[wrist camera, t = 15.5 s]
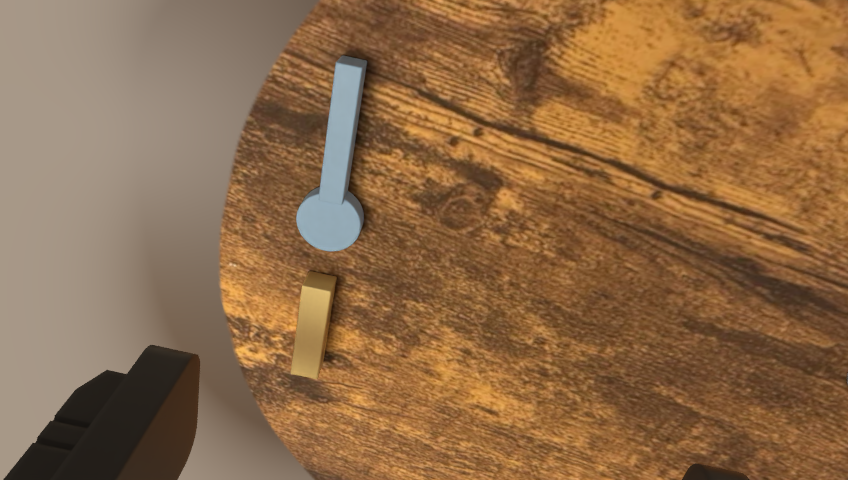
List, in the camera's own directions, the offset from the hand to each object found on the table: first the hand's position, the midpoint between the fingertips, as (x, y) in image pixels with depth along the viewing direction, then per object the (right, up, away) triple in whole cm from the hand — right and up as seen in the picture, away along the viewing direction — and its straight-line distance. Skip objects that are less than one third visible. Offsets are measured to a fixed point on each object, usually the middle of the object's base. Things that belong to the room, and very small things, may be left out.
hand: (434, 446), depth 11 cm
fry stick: (-7, -2, +34) cm, 35 cm away
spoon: (-5, +9, +28) cm, 30 cm away
